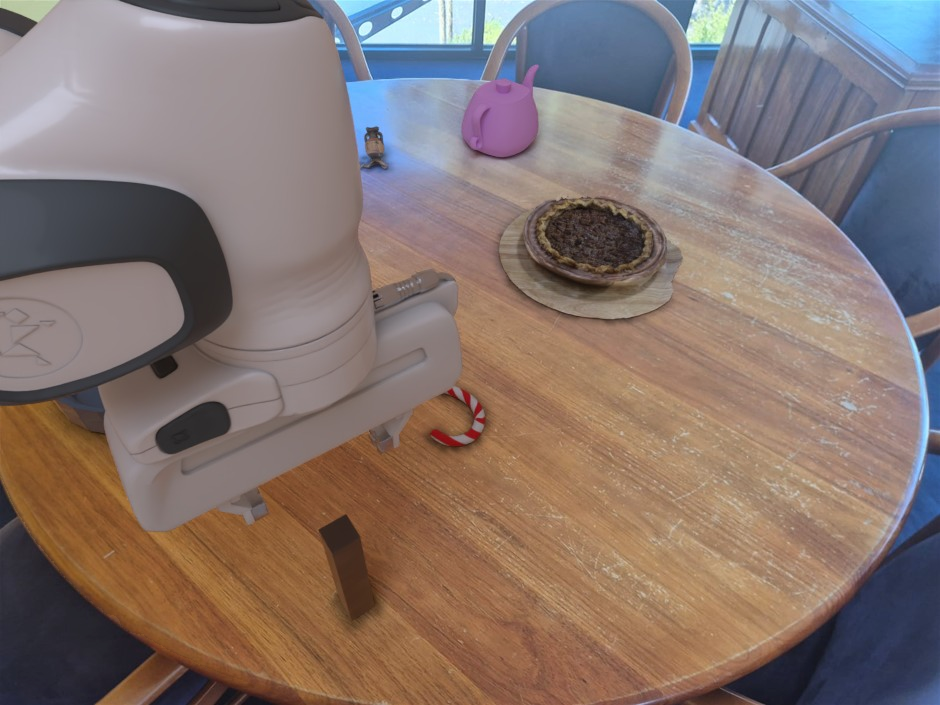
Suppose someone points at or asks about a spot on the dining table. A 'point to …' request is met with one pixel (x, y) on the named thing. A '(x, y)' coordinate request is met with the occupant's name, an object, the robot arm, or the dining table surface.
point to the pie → (590, 257)
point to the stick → (347, 566)
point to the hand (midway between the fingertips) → (322, 476)
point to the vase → (374, 147)
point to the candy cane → (477, 425)
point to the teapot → (502, 117)
